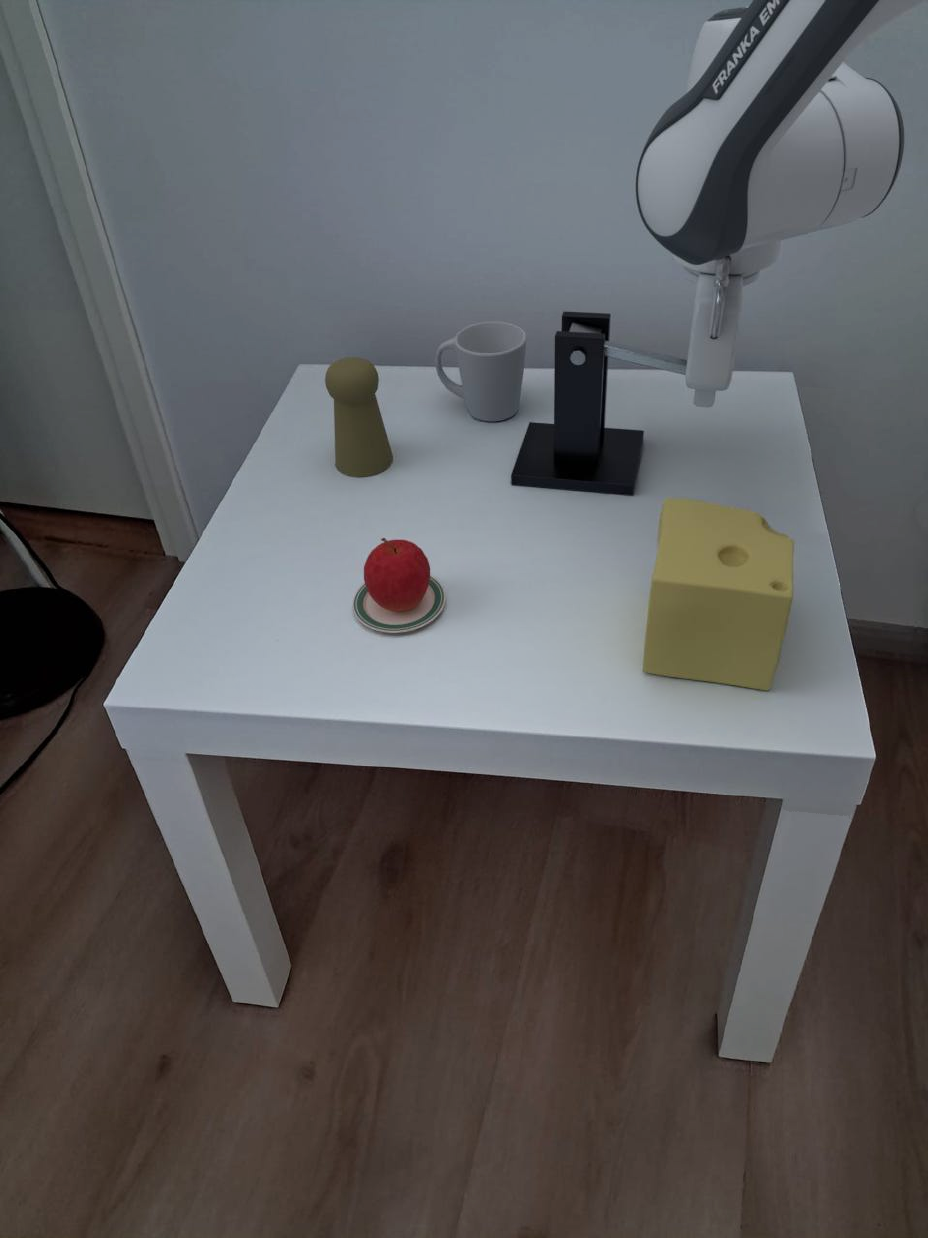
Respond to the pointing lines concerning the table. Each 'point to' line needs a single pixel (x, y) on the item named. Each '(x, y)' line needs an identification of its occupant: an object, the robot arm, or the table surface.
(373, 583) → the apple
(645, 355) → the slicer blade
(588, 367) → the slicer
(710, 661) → the cheese
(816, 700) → the table surface
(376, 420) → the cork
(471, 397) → the cup
